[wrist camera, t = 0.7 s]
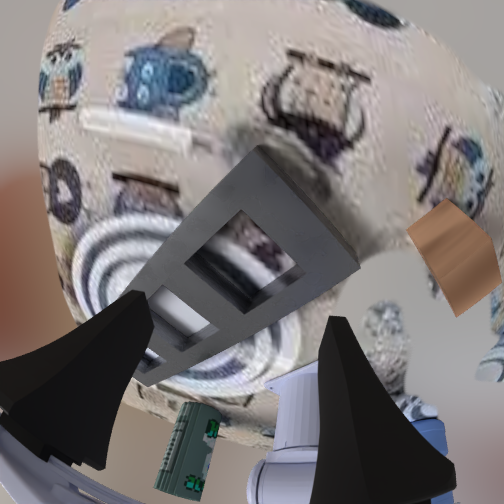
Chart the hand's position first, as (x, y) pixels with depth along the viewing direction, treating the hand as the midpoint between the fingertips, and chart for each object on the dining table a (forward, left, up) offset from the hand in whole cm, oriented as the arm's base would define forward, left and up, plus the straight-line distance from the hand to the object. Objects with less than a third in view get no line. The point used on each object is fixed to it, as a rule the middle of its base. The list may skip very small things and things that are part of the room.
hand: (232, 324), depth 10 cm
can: (-16, +29, -10) cm, 34 cm away
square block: (-9, -9, -10) cm, 16 cm away
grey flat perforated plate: (-1, +12, -10) cm, 15 cm away
